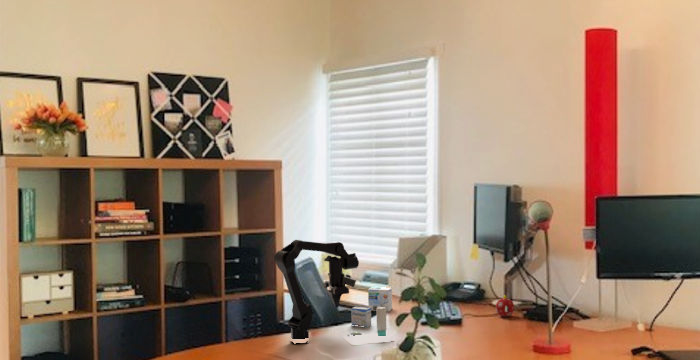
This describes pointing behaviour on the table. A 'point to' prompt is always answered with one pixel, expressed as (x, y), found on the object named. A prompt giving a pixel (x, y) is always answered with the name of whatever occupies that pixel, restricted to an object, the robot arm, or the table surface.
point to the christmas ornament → (505, 307)
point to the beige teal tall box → (381, 321)
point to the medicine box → (361, 316)
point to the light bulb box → (380, 298)
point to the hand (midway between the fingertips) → (336, 307)
